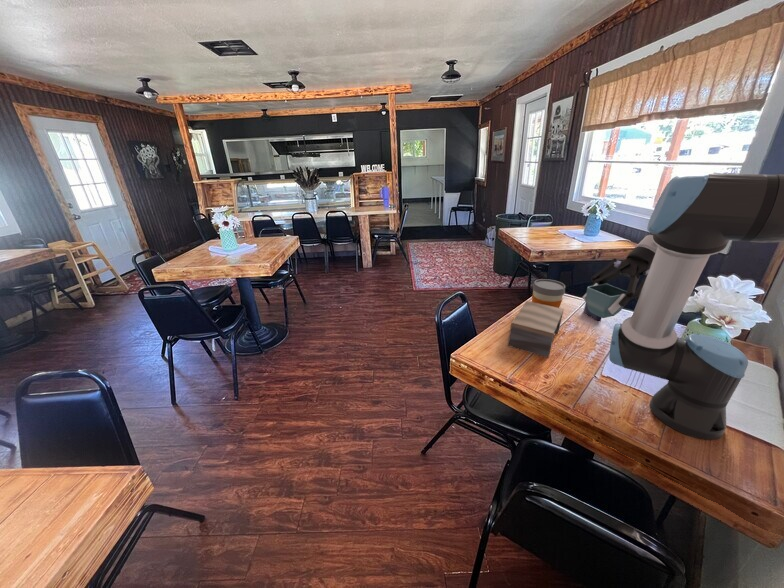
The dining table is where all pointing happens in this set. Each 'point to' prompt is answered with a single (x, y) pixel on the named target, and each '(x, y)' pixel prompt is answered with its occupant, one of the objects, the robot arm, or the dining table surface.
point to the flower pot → (603, 299)
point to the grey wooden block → (535, 328)
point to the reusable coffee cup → (548, 292)
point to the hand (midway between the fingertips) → (596, 305)
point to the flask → (591, 314)
